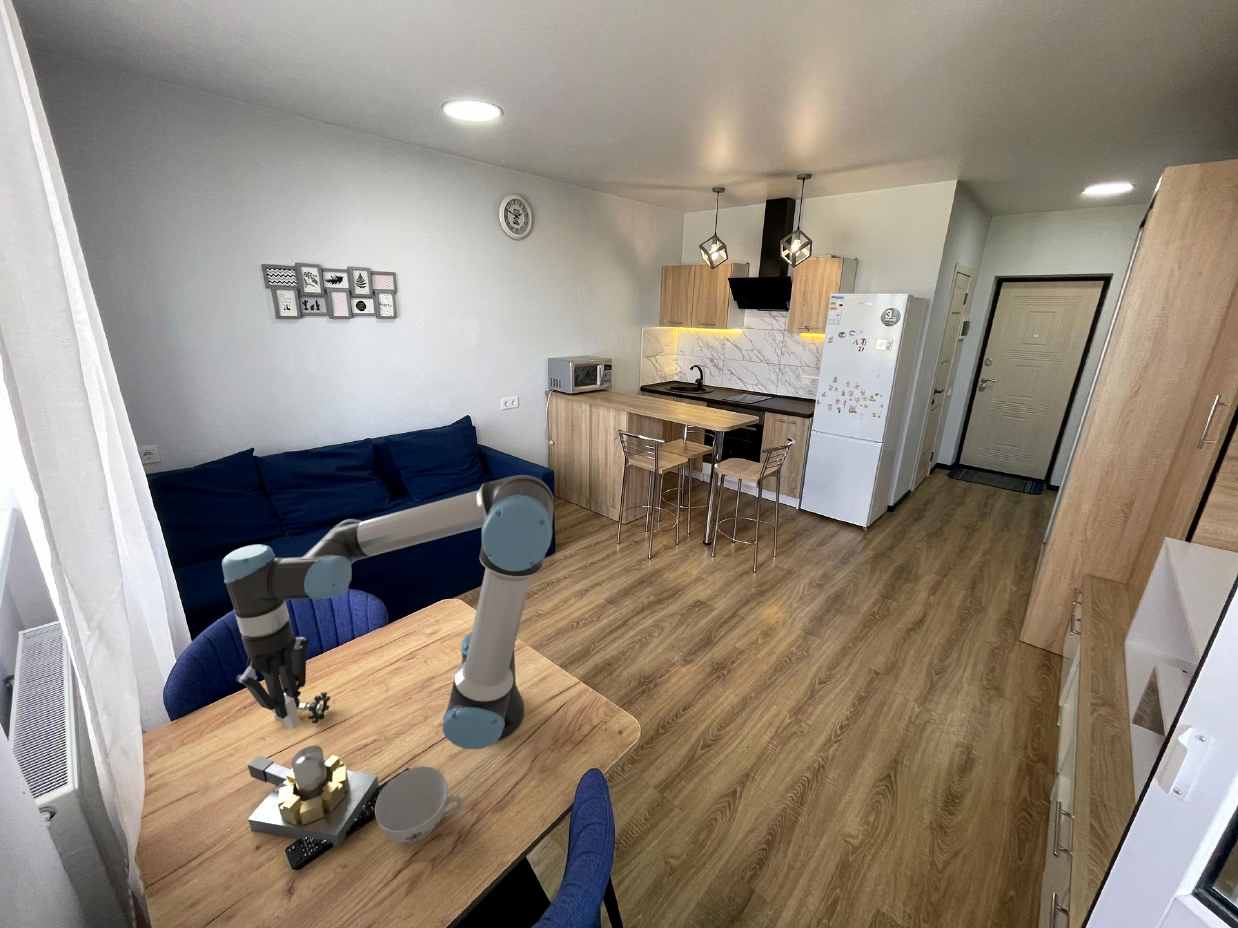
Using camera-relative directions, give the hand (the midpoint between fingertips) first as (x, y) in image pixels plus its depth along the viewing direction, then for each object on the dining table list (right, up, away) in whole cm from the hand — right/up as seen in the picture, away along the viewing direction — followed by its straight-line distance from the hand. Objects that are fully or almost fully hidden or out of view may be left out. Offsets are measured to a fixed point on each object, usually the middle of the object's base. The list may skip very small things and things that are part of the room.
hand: (292, 724), depth 97 cm
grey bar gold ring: (+2, -12, -2) cm, 12 cm away
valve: (-11, -8, +19) cm, 23 cm away
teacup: (+28, -17, -5) cm, 33 cm away
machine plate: (+7, -15, -2) cm, 17 cm away
